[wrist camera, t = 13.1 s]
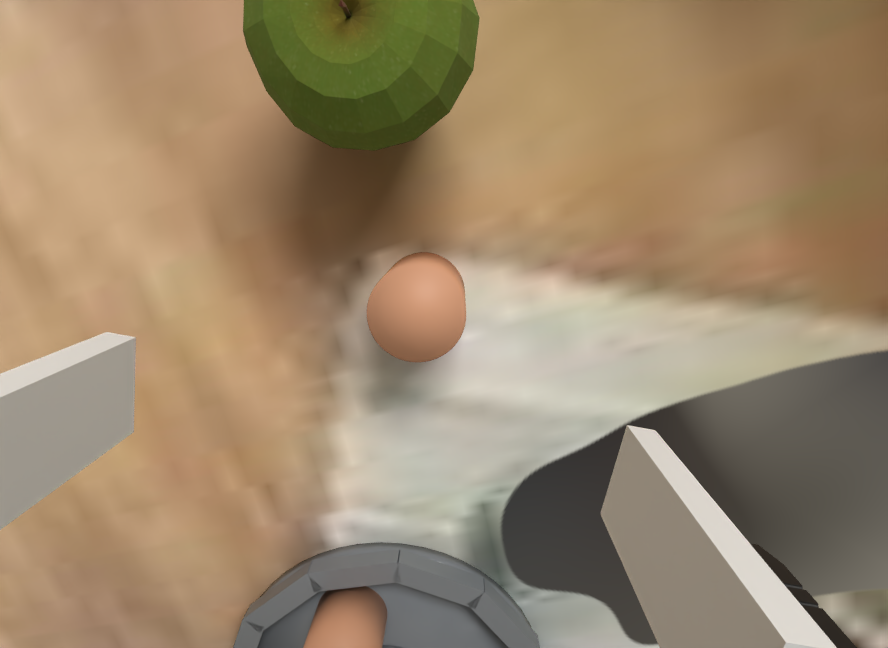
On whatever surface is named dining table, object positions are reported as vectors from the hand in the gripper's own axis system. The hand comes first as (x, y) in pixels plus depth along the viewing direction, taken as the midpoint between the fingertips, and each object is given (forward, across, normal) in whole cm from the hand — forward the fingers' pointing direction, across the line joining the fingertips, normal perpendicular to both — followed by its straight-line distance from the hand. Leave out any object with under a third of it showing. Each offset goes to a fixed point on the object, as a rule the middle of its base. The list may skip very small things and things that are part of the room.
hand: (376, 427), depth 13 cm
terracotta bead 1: (+16, -1, -22) cm, 27 cm away
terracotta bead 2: (+17, 0, 0) cm, 17 cm away
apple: (+17, -4, +11) cm, 21 cm away
